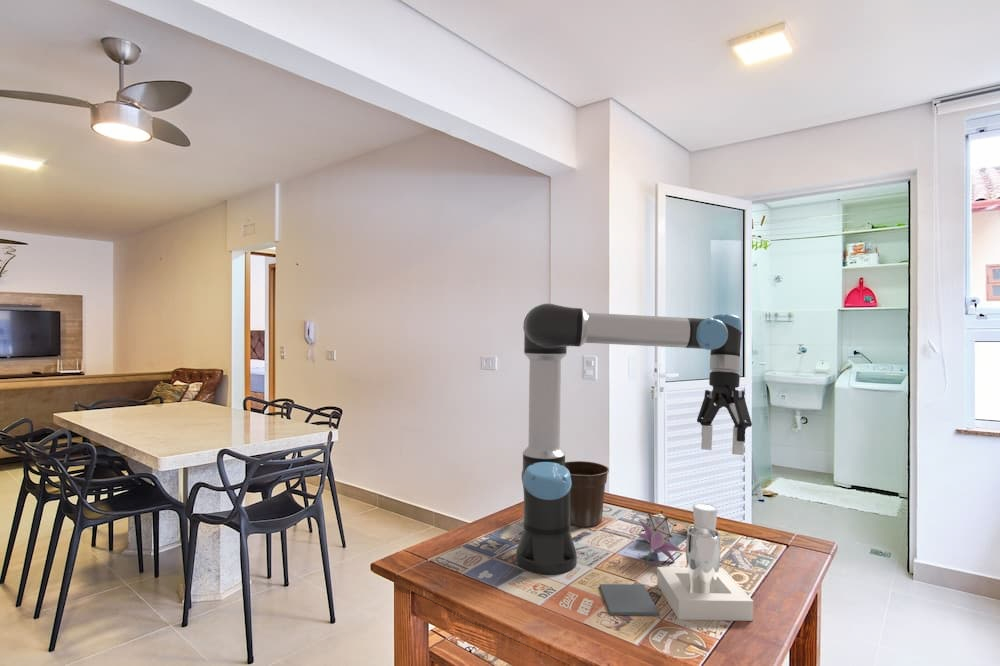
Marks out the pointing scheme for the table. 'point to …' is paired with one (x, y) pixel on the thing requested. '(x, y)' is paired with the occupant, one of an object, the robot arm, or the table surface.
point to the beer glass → (702, 559)
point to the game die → (660, 525)
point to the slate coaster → (628, 599)
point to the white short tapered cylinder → (705, 515)
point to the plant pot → (586, 492)
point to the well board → (704, 597)
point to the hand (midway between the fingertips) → (721, 452)
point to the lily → (657, 542)
